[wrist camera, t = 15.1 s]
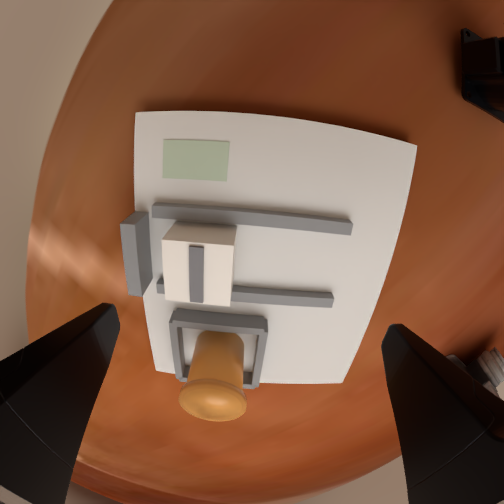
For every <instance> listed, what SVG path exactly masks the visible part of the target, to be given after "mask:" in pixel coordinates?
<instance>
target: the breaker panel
mask: <svg viewBox="0 0 504 504" xmlns="http://www.w3.org/2000/svg"><path fill="white" fill-rule="evenodd" d="M416 151H417V145H414V144H410V143H407V142H404V141H400V140H396V139H393V138H389V137H385V136H381V135H378V134H373V133H369V132H365V131H361V130H356V129H352V128H347V127H342V126H337V125H331V124H326V123H320V122H314V121H308V120H301V119H294V118H287V117H279V116H270V115H260V114H248V113H235V112H215V111H153V112H136V115H135V137H134V196H135V212H134V213H132V214H131V215H130V216H129V217H128V218H126V219H125V220H124V221H123V222H122V223H120V230H121V240H122V250H123V258H124V266H125V274H126V281H127V287H128V294H129V295H133V296H140V297H142V296H143V300H144V307H145V314H146V320H147V326H148V332H149V337H150V343H151V348H152V353H153V358H154V363H155V368H156V371H161V372H167V373H173V374H175V375H176V379H179V380H180V381H182V382H187V379H188V375H189V370H190V366H191V361H192V357H193V353H194V349H195V344H196V340H197V337H198V336H199V335H200V334H201V333H202V332H204V331H206V330H208V331H218V332H228V333H236V334H237V335H238V336H239V337H240V338H241V339H242V341H243V343H244V368H243V388H248V389H255V387H259V382H261V383H289V384H321V383H342V382H343V380H344V378H345V376H346V374H347V372H348V370H349V367H350V365H351V363H352V361H353V359H354V357H355V354H356V352H357V350H358V348H359V345H360V343H361V341H362V338H363V336H364V333H365V331H366V329H367V326H368V324H369V321H370V319H371V316H372V313H373V311H374V308H375V306H376V303H377V300H378V297H379V295H380V292H381V289H382V286H383V283H384V280H385V277H386V274H387V271H388V268H389V265H390V262H391V258H392V255H393V252H394V248H395V245H396V241H397V238H398V234H399V231H400V227H401V223H402V219H403V215H404V211H405V207H406V203H407V198H408V194H409V189H410V184H411V179H412V174H413V169H414V163H415V157H416ZM175 221H177V222H191V223H204V224H216V225H229V226H237V236H236V250H235V264H234V278H233V287H232V295H231V302H230V307H228V306H217V305H207V304H198V303H189V302H180V301H172V300H165V289H164V276H163V261H162V241H161V240H162V238H163V237H164V236H165V234H166V233H167V232H168V230H169V229H170V228H171V226H172V225H173V224H174V222H175Z"/></svg>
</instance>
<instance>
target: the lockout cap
mask: <svg viewBox="0 0 504 504" xmlns="http://www.w3.org/2000/svg"><path fill="white" fill-rule="evenodd" d="M243 368H244V343H243V341H242V339H241V338H240V337H239V336H238V335H237V334H236V333H228V332H218V331H208V330H206V331H204V332H202V333H201V334H200V335H199V336H198V337H197V340H196V344H195V349H194V353H193V357H192V361H191V366H190V370H189V375H188V379H187V383H186V384H184V385H183V386H182V388H181V390H180V395H179V403H180V405H181V407H182V408H183V409H184V410H185V411H187V412H188V413H190V414H191V415H193V416H195V417H198V418H201V419H204V420H209V421H228V420H233V419H236V418H238V417H240V416H241V415H242V414H243V413H244V412H245V411H246V400H247V399H246V396H245V394H244V392H243Z"/></svg>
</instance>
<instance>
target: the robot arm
mask: <svg viewBox="0 0 504 504" xmlns="http://www.w3.org/2000/svg"><path fill="white" fill-rule="evenodd" d="M466 34H467V35H466ZM461 49H462V90H461V93H462V97H463V99H464V100H465V101H467V102H469V103H471V104H473V105H474V106H476V107H478V108H480V109H481V110H483V111H485V112H487V113H488V114H490V115H492V116H493V117H495V118H496V119H498V120H500V121H501V122H503V123H504V37H500V38H497V37H490V38H485V39H482V38H481V37H479V36H478V35H476V34H475V33H473V32H472V31H470V30H469V29H467V28H464V29H461ZM467 93H468V96H467ZM119 331H120V322H119V318H118V314H117V310H116V307H115V305H113V304H110V303H101V304H100V305H98V306H96V307H94V308H92V309H91V310H89V311H87V312H85V313H83V314H82V315H80V316H78V317H76V318H75V319H73V320H71V321H69V322H67V323H66V324H64V325H62V326H60V327H59V328H57V329H55V330H53V331H52V332H50V333H48V334H46V335H45V336H43V337H41V338H40V339H38V340H36V341H34V342H33V343H31V344H29V345H28V346H26V347H25V348H24V349H23V348H22V349H21V350H19V351H17V352H16V353H14V354H12V355H10V356H9V357H7V358H5V359H3V360H1V361H0V504H65V500H66V495H67V491H68V487H69V484H70V480H71V476H72V472H73V468H74V465H75V461H76V458H77V454H78V451H79V448H80V445H81V442H82V438H83V435H84V432H85V429H86V426H87V423H88V421H89V418H90V415H91V412H92V409H93V407H94V404H95V401H96V398H97V396H98V393H99V390H100V388H101V385H102V383H103V380H104V378H105V375H106V373H107V370H108V367H109V364H110V361H111V357H112V354H113V350H114V347H115V344H116V340H117V337H118V334H119ZM381 349H382V355H383V361H384V368H385V374H386V381H387V387H388V391H389V395H390V399H391V404H392V408H393V412H394V417H395V421H396V426H397V431H398V436H399V441H400V446H401V452H402V458H403V464H404V469H405V476H406V484H407V490H408V491H407V492H408V501H409V504H504V401H503V400H502V399H500V398H499V397H497V396H496V395H495V394H493V393H492V392H490V391H489V390H488V389H486V388H485V387H484V386H482V385H481V384H480V383H479V382H477V381H476V380H475V379H473V378H472V377H471V376H470V375H468V374H467V373H466V372H465V371H463V370H462V369H461V368H460V367H458V366H457V365H456V364H454V363H453V362H452V361H450V360H449V359H448V358H447V357H445V356H444V355H443V354H441V353H440V352H439V351H437V350H436V349H435V348H433V347H432V346H431V345H430V344H428V343H427V342H426V341H424V340H423V339H422V338H420V337H419V336H418V335H416V334H415V333H414V332H412V331H411V330H410V329H408V328H407V327H405V326H404V325H403V324H391V325H390V326H389V328H388V330H387V332H386V334H385V337H384V339H383V341H382V345H381Z"/></svg>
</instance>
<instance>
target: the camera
mask: <svg viewBox="0 0 504 504" xmlns="http://www.w3.org/2000/svg"><path fill="white" fill-rule="evenodd" d="M446 357H447V358H448V359H449V360H450V361H452V362H453V363H454V364H456V365H457V366H458V367H460V368H461V369H462V370H463V371H465V372H466V373H467V374H468V375H470V376H471V377H472V378H473V379H475V380H476V381H477V382H479V383H480V384H481V385H482V386H484V387H485V388H486V389H488V390H489V391H490V392H492V393H493V394H495V395H496V396H497V397H499V395H498V393H497V390H496V387H497V386H498V385H499V384H500V382H503V381H504V358H503V357H502V355H501V354H500V353H499V351H498V350H497V349H496V348H495V347H494V348H493V349H492V350H491V351H490V352H489V351H486V350H485V351H484V352H483V353H482V355H480V356H479V357H478V358H477V359H475V360H473V361H472V362H471V363H470V364H469V365H468V366H467V367H466V366H465V365H464V364H463V363H462V362H461V361H460V360H459V359H458V358H457V357H456V356H455V355H449V356H446ZM499 398H500V397H499ZM500 399H501V398H500Z"/></svg>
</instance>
